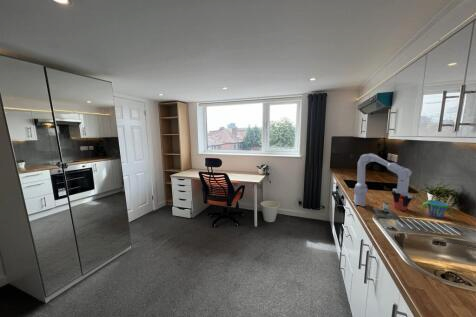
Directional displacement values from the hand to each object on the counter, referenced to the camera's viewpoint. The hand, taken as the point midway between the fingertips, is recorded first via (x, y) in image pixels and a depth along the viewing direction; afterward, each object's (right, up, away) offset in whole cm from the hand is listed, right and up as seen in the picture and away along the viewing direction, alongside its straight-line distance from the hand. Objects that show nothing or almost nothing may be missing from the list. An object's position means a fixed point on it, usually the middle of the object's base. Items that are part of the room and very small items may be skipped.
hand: (400, 204), depth 130 cm
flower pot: (+14, -8, +17) cm, 24 cm away
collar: (-5, -10, +7) cm, 13 cm away
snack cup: (+29, -10, +4) cm, 31 cm away
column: (-5, -7, +7) cm, 11 cm away
